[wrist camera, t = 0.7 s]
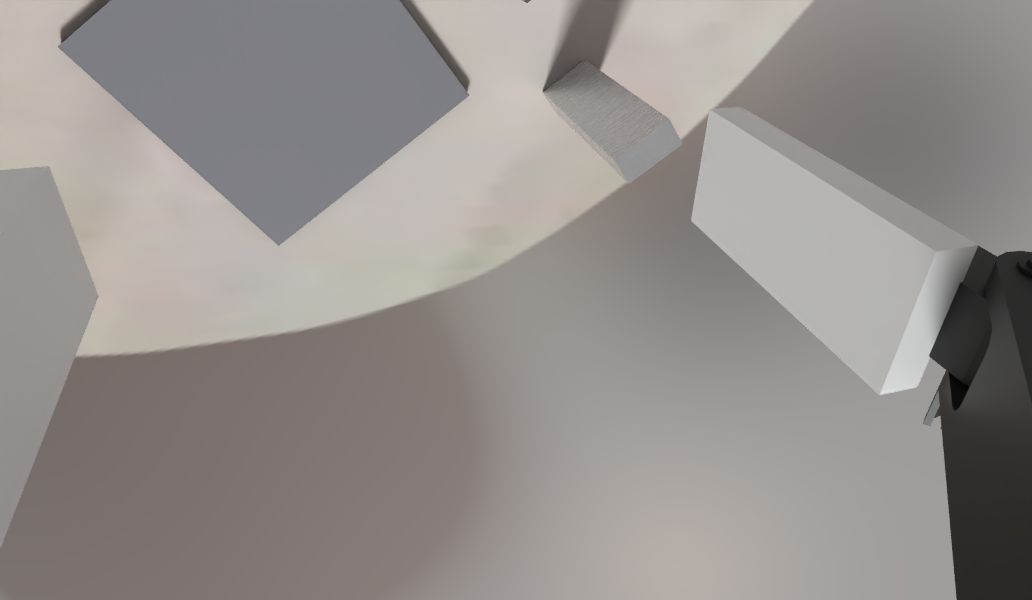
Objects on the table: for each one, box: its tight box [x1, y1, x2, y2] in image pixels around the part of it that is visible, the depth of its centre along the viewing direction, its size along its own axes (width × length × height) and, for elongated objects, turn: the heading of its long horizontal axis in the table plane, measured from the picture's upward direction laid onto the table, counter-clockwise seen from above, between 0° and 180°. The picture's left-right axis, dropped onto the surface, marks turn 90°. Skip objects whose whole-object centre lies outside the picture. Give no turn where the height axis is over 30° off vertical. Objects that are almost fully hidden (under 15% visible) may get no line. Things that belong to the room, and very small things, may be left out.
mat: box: [58, 0, 469, 246], centre depth 36 cm, size 14×14×1 cm
